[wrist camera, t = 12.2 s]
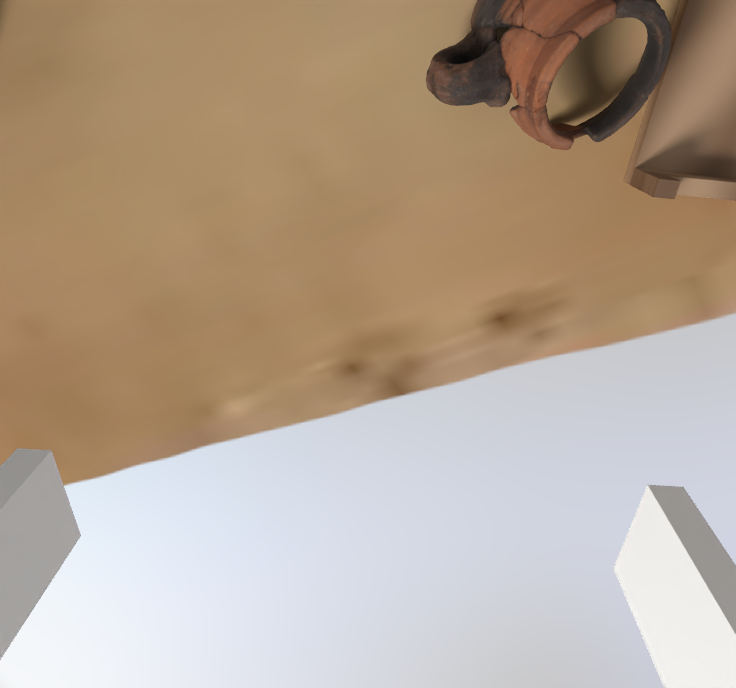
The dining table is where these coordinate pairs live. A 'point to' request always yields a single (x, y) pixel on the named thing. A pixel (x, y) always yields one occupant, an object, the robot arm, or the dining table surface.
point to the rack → (692, 110)
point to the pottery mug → (544, 61)
